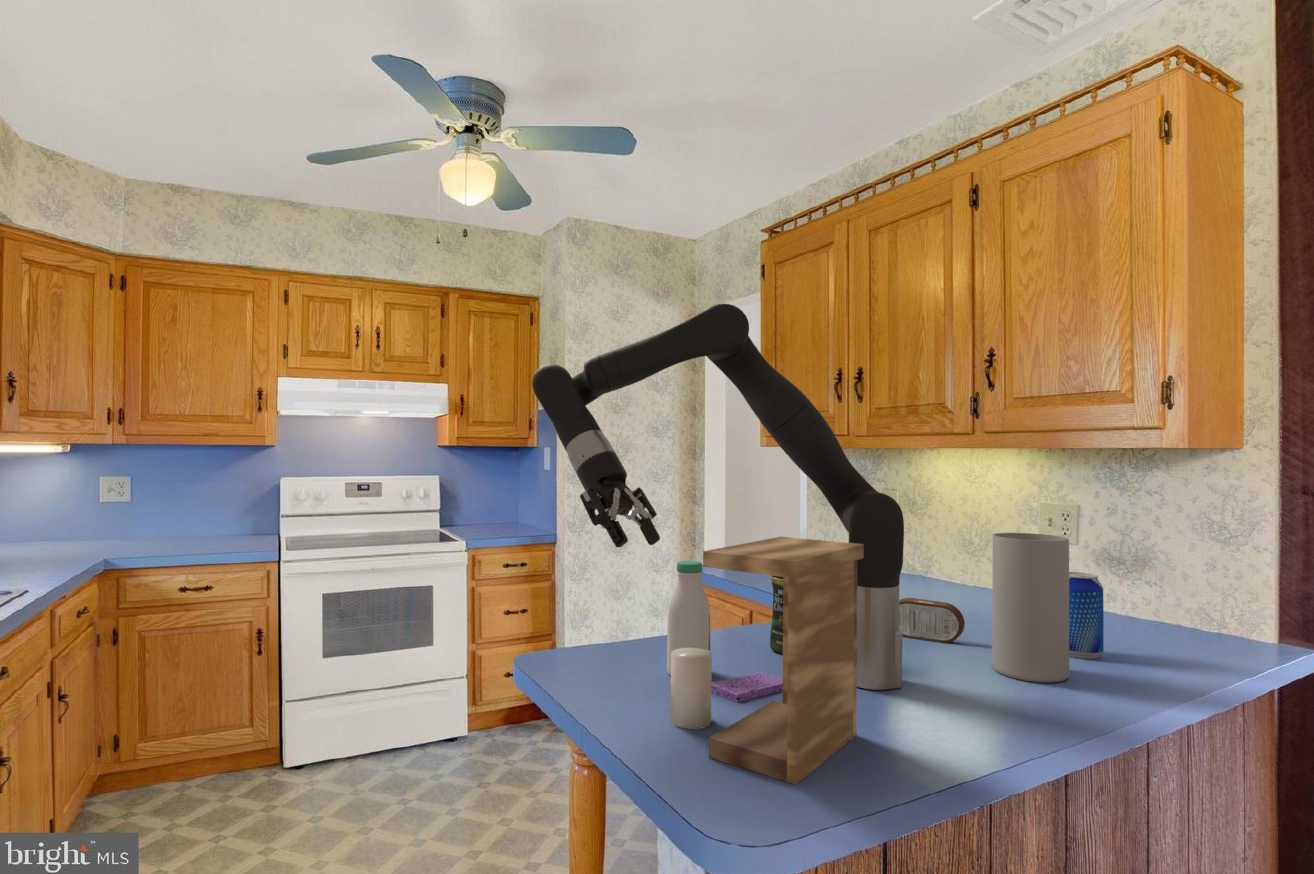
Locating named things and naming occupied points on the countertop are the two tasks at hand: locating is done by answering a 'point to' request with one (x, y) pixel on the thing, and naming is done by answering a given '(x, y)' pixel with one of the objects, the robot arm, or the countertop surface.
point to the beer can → (1085, 616)
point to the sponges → (747, 686)
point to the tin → (930, 620)
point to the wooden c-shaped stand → (800, 657)
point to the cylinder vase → (1030, 606)
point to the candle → (691, 687)
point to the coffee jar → (777, 615)
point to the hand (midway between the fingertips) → (639, 543)
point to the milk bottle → (688, 611)
